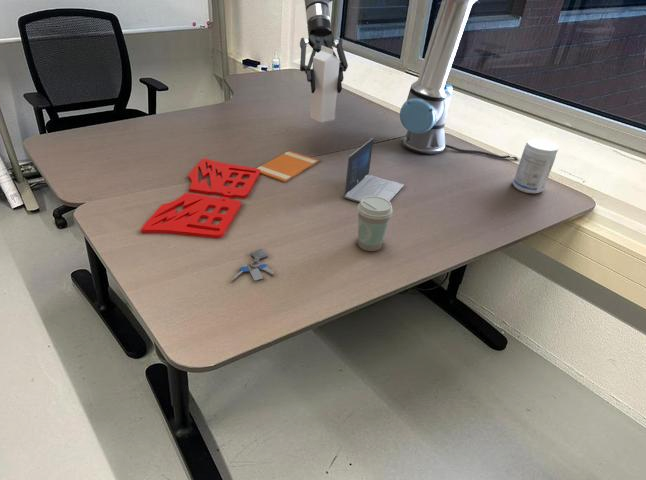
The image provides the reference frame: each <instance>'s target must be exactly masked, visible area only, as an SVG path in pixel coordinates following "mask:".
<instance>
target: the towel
mask: <svg viewBox="0 0 646 480" xmlns="http://www.w3.org/2000/svg"><path fill="white" fill-rule="evenodd" d="M319 161H320V160H319V159H317V158H313V157H311V156H307V155H305V154H302V153H299V152H295V151H291V150H288V151H286V152H284V153H282V154H280V155H278V156H277V157H275V158H273V159H271V160H270V161H267V162H265V163H263V164H262V165H260V166H258V167H256V169H260V170H261V172H260V175H262V176H265V177H268V178H271V179H274V180H276V181H279V182H282V183H286V182H287V181H289V180H291V179H293V178H294V177H296V176H298V175H299V174H301V173H302V172H304V171H306V170H308V169H309V168H311V167H313V166H314V165H315V164H317V163H319Z"/></svg>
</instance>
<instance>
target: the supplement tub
mask: <svg viewBox="0 0 646 480" xmlns="http://www.w3.org/2000/svg"><path fill="white" fill-rule="evenodd" d="M558 151H559V145H558V144H556V143H555V142H553V141H550V140H547V139H543V138H531V139H528V140H527V141H526V144H525V145H524V148H523V151H522V154H521V158H520V160H519V163H518V166H517V169H516V171H515V172H516V173H515V175H514V178H513V181H512V185H513V187H514V188H516V189H517V190H518V191H520V192H523V193H525V194H526V193H527V194H540V193H541V192H543V191H544V189H545V186H546V184H547V181H548V180H549V179H548V178H549V175H550V173H551V171H552V168H553V166H554V163H555V160H556V159H557V155H558Z"/></svg>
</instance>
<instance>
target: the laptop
mask: <svg viewBox="0 0 646 480" xmlns="http://www.w3.org/2000/svg"><path fill="white" fill-rule="evenodd" d="M374 141H375V139H374V137H372V138H370V139H369V140H368V141H366V142H365V143H364V144H363V145H361V146H360V147H359V148H358V149H357V150H355V151H354V152H353V153H351V154H350V155H349V156H348V157H347V158H348V159H347V168H346V175H345V177H346V178H345V185H344V193H343V195H344V199H347V200H350V201H353V202H357V203H360V202H361V200H362V199H363V198H365V197H368V196H378V197H382V198H385V199H387V200H388V201H391V200H392V199H393V198H394V197H395V196H396V195H397V194H398V192H400V190H402V188H403V187H404V186H405V184H404V183H402V182H401V183H400V182H397V181H393V180H390V179H386V178H382V177H380V176H375V175H371V174H370V168H371V167H370V166H371V161H372V153H373V147H374Z"/></svg>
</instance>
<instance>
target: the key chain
mask: <svg viewBox="0 0 646 480" xmlns="http://www.w3.org/2000/svg"><path fill="white" fill-rule="evenodd" d="M250 255H251V256H252V257H253V258H254V259H253V261H250V262H246V263H245V265H244V266H241V267H239V272H238V273H236V274H234V276H233V277H232V278H231V279H230V281H231V282H232V281H234V280H235V279H237V278H238V277H239V276H240V275H241V274H243V273H248V272H249V273H250V275H251V276H252V279H253V281H254V282H255V281H260V280H262V279H264V277H263V274H262V273H261V271H264V272H266V273H268V274H270V275H274V274H275V271H273V270H272V269H270V268H269V265H268V264H266V263H262V264H261V262H260V260H261V259H264V258H266V257H269V254H267V252H265V250H263V249H257V250H254V251H251V252H250ZM247 264H250V266H251V267H253V269H251V268H250V267H249V266H247ZM253 264H254V265H253ZM260 270H261V271H260Z"/></svg>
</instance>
